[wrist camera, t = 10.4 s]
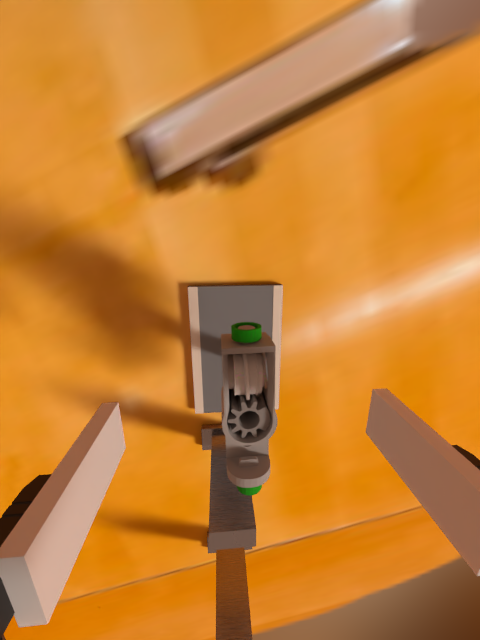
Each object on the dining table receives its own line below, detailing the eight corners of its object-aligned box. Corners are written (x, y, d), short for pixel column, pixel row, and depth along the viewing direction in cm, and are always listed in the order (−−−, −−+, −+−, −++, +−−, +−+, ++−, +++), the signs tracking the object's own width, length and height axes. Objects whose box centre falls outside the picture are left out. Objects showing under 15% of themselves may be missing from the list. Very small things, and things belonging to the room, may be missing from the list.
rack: (201, 425, 26) (192, 529, 16) (252, 422, 26) (271, 522, 17) (208, 547, 30) (203, 686, 21) (251, 543, 31) (266, 678, 21)
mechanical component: (222, 403, 25) (225, 501, 15) (217, 296, 22) (217, 333, 13) (253, 401, 25) (276, 496, 15) (252, 295, 22) (278, 330, 13)
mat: (188, 285, 22) (187, 287, 22) (281, 284, 23) (282, 285, 22) (195, 409, 25) (195, 413, 25) (277, 405, 26) (278, 409, 25)
